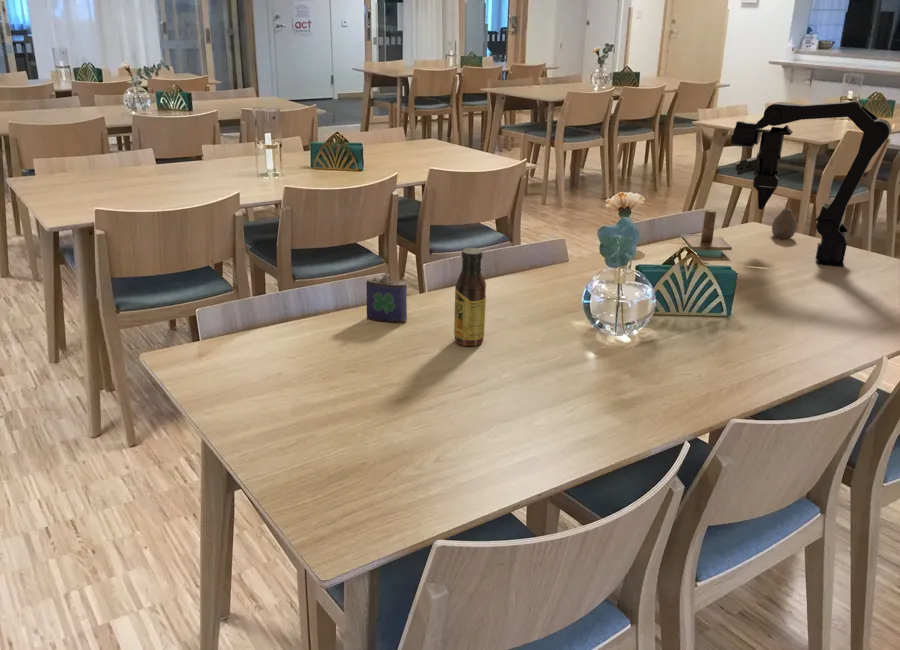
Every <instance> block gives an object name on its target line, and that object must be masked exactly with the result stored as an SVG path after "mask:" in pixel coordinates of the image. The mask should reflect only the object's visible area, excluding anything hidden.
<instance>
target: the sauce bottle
mask: <svg viewBox="0 0 900 650" xmlns="http://www.w3.org/2000/svg"><path fill="white" fill-rule="evenodd" d="M461 258H462V260H461V261H462V262H461V263H462V267H461V271H460V274H459V277H458V279H457V282H456V284H455V289H454V291H455V292H454V324H453V325H454V328H453V329H454V330H453V332H454V333H453V334H454V342H456V343H457V344H458V345H460V346H465V347H476V346H480V345H482V344H483V342H484V336H485V326H486V324H485V323H486V304H487V302H486V301H487V295H486V291H487V289H486V288H487V283H486V282H487V281H486V279H485V278H484V276H483V275H482V273H481V272H482V268H481V267H482V259H483V250H482V249H480V248H476V247H467V248H464V249H462V251H461Z"/></svg>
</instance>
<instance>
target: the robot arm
mask: <svg viewBox="0 0 900 650" xmlns="http://www.w3.org/2000/svg"><path fill="white" fill-rule="evenodd" d="M832 118H833V119H835V118H848V119H849V120H850V121H852V122H853V123H854V124H855V126H856V127H857V128H858V129H859V130H860V131H862V132H863V134H862V137H861V141H860V144H859V148H858V151H857V154H856V157H854V158H855V159H853V162H852V164H851V166H850V168H849V169H848V171H847V173H846V175H845V177H844V179H843V182H842V183H841V186H840V187H839V189H838V191H837V193H836V194H835V196H834V198H833V200H832V202H831V203H830V204H829V203H827V202H825V203H824V204H823V206H822V207H821V209H820V213H819V214H818V216H817V217H816V218H815V219H814V220H815V222H816V224H815V228H816V231H817V232H818V234H819V235H820V236H821V238H820V239H821V240H820V242H818V243H817V246H816V247H817V248H816V253H815V259H816V260H817V264H818V265H830V266H837V267H838V266H839V267H844V266H845V263H844V260H845V256H846V255H845V254H846V251H847V247H848V246H847V245H848V241H847V240H846V239H847V236H848V235H849V233H850V231H849V230H848V229H847V228H846V226H845V225H844V224H843V222H844V218H845V215H846V212H847V208H848V205H849V202H850V200H851V199H852V197H853V195H854V193H855V191H856V189H857V187H858V186H859V184H860V181H861V180H862V177H863V175H864V173H865V172H866V171H867V168H868V167H869V165H870V162H871V161H872V158H873V157H874V156H875V155H876V153H878V151H879V149H880V148H881V147H882V146H883V144H884V143H885V142H886V140H887V139H888V138H889V136H890V134H891V131H892V125H891V124H890V122H889V121H888V120H887V119H883V118H878V117H877V115H875V114H874V113H872V112H871V111H870V110H868V109H867V108H865V106H863V105H862V102H860V101H859V100H853V99H852V100H850V101H841V102H839V101H838V102H829V103H828V102H827V103H826V102H825V103H824V102H823V103H812V104H810V103H808V104H798V103H793V102H783V101H777V102H775V103H772V104H769V105H767V107H766V108H765V110H764V112H763V116H762V117H761V118H760V119H759V120H758V121H756V123H755V122H746V121H743V120H738V121H736V122H735V127H734V130H733V133H732V135H731V138H730V139H731V141H730V142H731V146H732V147H740V148H741V147H742V148H750V149H754V147H755V146H757V145H759V149H758V152H757V153H756V156H755V157H754V156H753V157H750V158H745V159H740V160H737V161H735V163H734V167H735V170H736V175H737V176H740V175H741V176H742V175H743V174H746V173H750V172H753V182H752V185H753V188H754V189H755V190H756V191H757V208H758V210H763V209H764V208H765V206H766V205H767V203H768V201H769V200H770V199H771V197H772V195H773V194H774V193H775V191H776V190H777V188H778V184H779V177H778V174H779V167H780V166H779V164H780V160H781V157H782V156H781V155H782V150H783V145H784V144H783V143H784V137H785V136H791V135H792V134H793V133H794V132H793V130H791V129H790V126H789V125H788V124H789V123H793V122H797V121H801V120H819V119H832ZM781 125H785V126H783V127H779V126H781ZM769 126H771V128H770V129H764V128H766V127H769ZM759 143H760V144H759Z"/></svg>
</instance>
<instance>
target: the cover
mask: <svg viewBox="0 0 900 650" xmlns="http://www.w3.org/2000/svg"><path fill="white" fill-rule="evenodd" d="M716 215H717V211H716V210H712V209H710V210H708V209H707V210H705V211H704V218H703V223H702V225H703V226H702V233H701V235H702V236H682V239H683V240H684V241H685V243H686V244H687V247H688V246H689V247H690V248H691V249H694V250H722V251H732V249H733V247H732V246H731V244H729V243H728V242H727V241H726V240H725V239H724V238H723V237H721V236H714V233H715V232H714V231H715V225H716V224H715V223H716V217H717V216H716ZM722 238H723V239H722ZM686 244H685V245H686Z"/></svg>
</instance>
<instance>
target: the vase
mask: <svg viewBox="0 0 900 650" xmlns="http://www.w3.org/2000/svg"><path fill="white" fill-rule="evenodd" d="M797 225H798V223H797V219H796V217H795V216H794V214H793V211H792V209H790V208H783V209H782V210H781V212H779V213H778V214H777V216H776V217H774V219H773V222H772V224H771V231H772V235H773V237H774V238H775V239H778V240H783V241H786V240H790V239H791V238H792V237H794V235H795V234H796V231H797Z"/></svg>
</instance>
